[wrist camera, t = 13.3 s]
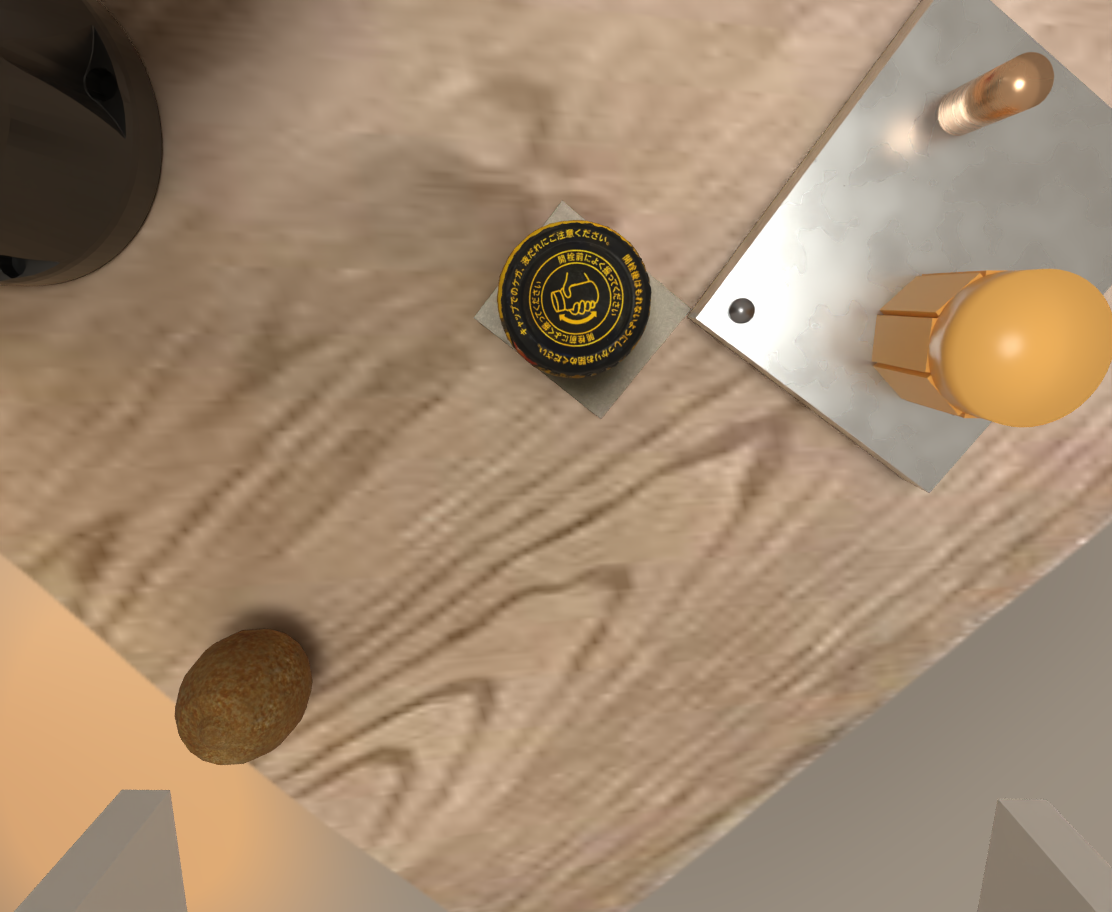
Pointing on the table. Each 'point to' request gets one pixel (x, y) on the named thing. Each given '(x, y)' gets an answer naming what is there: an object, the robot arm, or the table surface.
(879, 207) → the plate
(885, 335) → the wire nut
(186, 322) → the table surface
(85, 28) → the robot arm
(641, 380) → the table surface
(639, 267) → the condiment
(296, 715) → the fruit
